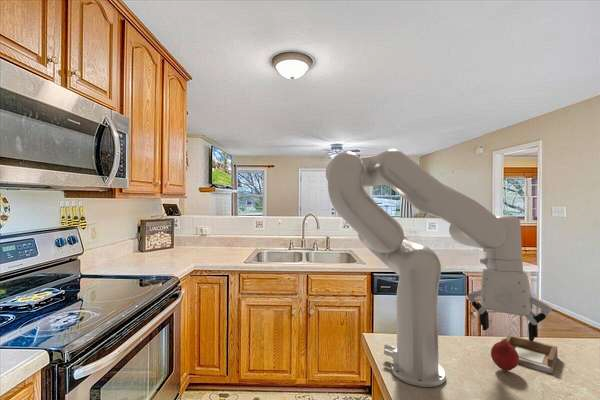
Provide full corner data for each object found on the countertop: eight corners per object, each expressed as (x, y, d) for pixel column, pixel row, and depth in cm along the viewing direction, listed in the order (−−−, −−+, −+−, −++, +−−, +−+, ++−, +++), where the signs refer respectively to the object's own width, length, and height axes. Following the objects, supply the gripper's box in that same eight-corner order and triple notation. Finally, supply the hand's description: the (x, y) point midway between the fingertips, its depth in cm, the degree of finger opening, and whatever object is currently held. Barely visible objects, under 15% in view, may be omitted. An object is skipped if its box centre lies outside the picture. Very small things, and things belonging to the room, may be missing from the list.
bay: (499, 358, 82) (499, 346, 82) (508, 344, 89) (508, 334, 89) (552, 374, 74) (552, 361, 74) (557, 357, 82) (557, 346, 82)
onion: (517, 380, 71) (516, 346, 71) (488, 371, 75) (488, 339, 75) (520, 370, 76) (520, 338, 76) (493, 362, 79) (493, 331, 80)
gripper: (461, 263, 79) (465, 329, 79) (546, 272, 67) (550, 350, 67) (470, 259, 85) (473, 320, 84) (550, 266, 72) (554, 338, 72)
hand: (507, 333), depth 75 cm, fingers open, 9 cm apart
